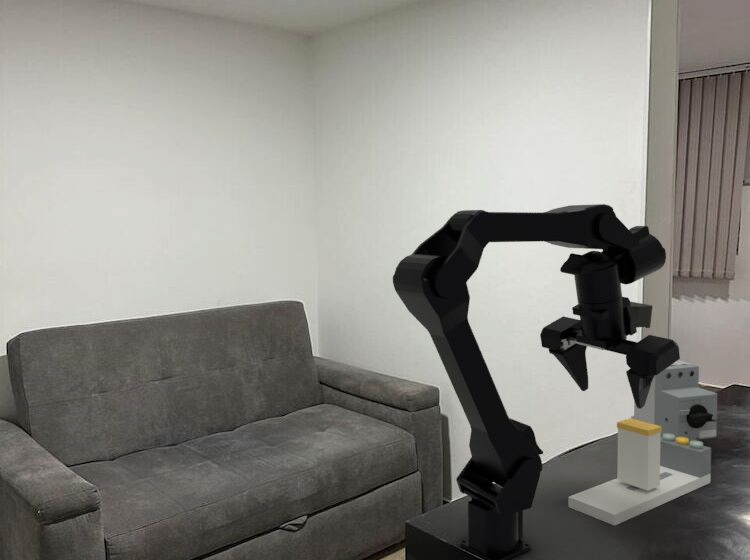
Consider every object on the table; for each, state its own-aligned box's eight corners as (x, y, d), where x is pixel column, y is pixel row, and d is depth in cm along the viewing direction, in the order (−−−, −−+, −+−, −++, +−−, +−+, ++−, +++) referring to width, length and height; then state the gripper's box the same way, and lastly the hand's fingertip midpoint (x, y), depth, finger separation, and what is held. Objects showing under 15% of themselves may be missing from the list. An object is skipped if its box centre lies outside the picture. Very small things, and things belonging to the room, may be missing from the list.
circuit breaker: (684, 467, 113) (686, 377, 112) (630, 441, 127) (631, 360, 125) (723, 462, 115) (725, 373, 114) (665, 436, 129) (667, 357, 127)
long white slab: (614, 525, 93) (615, 479, 92) (568, 507, 99) (568, 464, 98) (710, 482, 106) (711, 442, 106) (664, 468, 113) (665, 430, 112)
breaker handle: (647, 491, 99) (648, 430, 98) (616, 480, 103) (616, 422, 102) (660, 485, 101) (661, 426, 100) (629, 475, 105) (629, 418, 104)
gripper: (698, 284, 89) (707, 391, 94) (580, 267, 104) (592, 360, 109) (648, 316, 84) (659, 428, 88) (530, 293, 99) (546, 390, 103)
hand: (612, 398), depth 98 cm, fingers open, 9 cm apart
